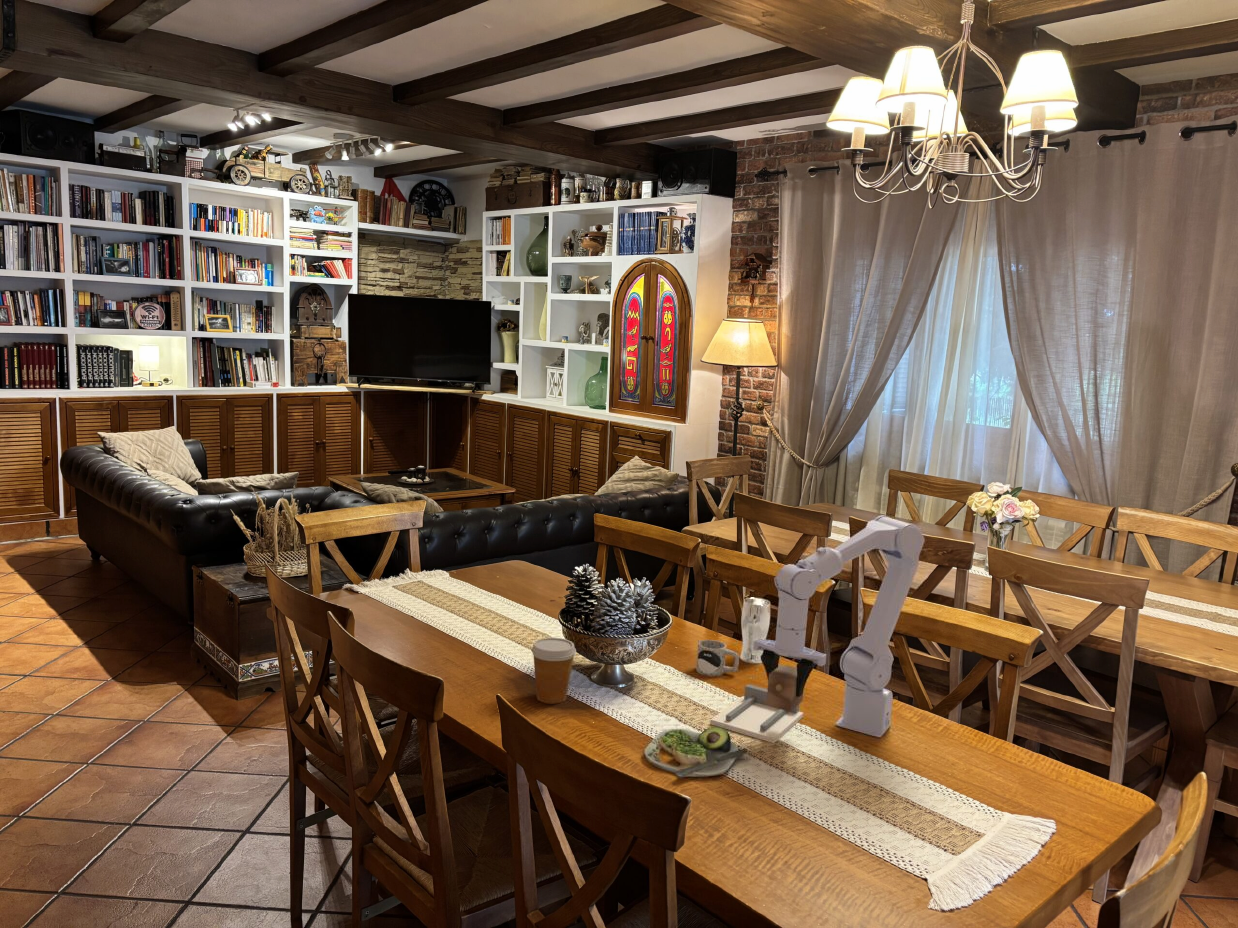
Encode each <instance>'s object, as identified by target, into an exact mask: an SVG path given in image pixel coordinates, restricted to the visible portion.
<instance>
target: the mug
mask: <svg viewBox="0 0 1238 928" xmlns="http://www.w3.org/2000/svg"><path fill="white" fill-rule="evenodd" d="M696 653H697V654H696V664H695V665H696V666H695V667H696V670H695V671H696V673H698V674H699V675H702V676H707V677H720V676H723V675H724V674H725V672H726V673H727V672H729V673H730V672H731V673H732V672H734V673H735V672H737V671H738V670H739V669H738V668H739V664H740V663H739V661H740V656H739V653H737V652H736V651H733V650H731V649H727V644H726V643H724V642H723V641H719V640H715V639H714V640H713V639H702V640H700V641H698V643H697V652H696ZM726 655H727V656H732V657H733V659H734V663H733V666H727V665H725V663H726Z"/></svg>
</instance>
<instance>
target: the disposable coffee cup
mask: <svg viewBox="0 0 1238 928" xmlns="http://www.w3.org/2000/svg"><path fill="white" fill-rule="evenodd" d="M531 653H532V656H533V667H534V680H535V690H536V691H535V692H536V699H537V701H539V702H542V703H544V704H550V705H551V704H560V703H563V702H564V701H566V699H567V694H568V688H569V683H570V679H571V673H572V667H573V661H574V657H575V654H576V653H577V649H576V648H575V643H574V642H573V641H571V640H568V639H565V638H561V637H559V638H558V637H544V638H543V637H542V638H540V639H537V640H535V641H534V643H533V645H532V647H531Z"/></svg>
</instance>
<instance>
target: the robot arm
mask: <svg viewBox="0 0 1238 928" xmlns="http://www.w3.org/2000/svg"><path fill="white" fill-rule="evenodd" d="M924 543H925V537H924V535H923V533H922V530H921V529H920V527H919V526H918V525H916V524H914V523H909V522H905V521H901V520H899V519H894V518H892V517H890V516H888V515H883V514H882V515H879V516H876V517H875V518H874V519H872V520H869V521H867V523H866V525H865V527H864V528H863V529H861V530H860V531H858V532H857V533H855V534H854V535H852V536H851V537H849V538H848V539H847V540H845V541H844V542H842V543H840V544H839V545H838V546H836V547H835V548H831V547H828V546H826V547H822V546H820V547H819V548H817V549H816V552H814V553H812V554H811V555H810V556H807V557H805V558H804V559H799V560H798V562H797V563H795V564H792V563H789V564H786V565H784V566H782V567H781V568H780V569H779V570H778V572H777V574H776V576H775V577H774V578H773V580H774V581H773V582H774V585H775V587H776V588H777V592H778V593H777V594H778V595H777V597H778V609H777V618H776V619H777V620H776V629H775V630H776V633H775V640H771V639H766V640H764V639H759V638H757V639H756V640H754V644H753V650H757V651H758V650H762V651H763V653H762V655H761V661H762V663H761V664H762V665H763V668H764V670H765V674H766V677H767V680H768V679H769V674H770V673H771V672H772V671H774V670H775V669H776V668H777V667H779V664H780V663H779V662H780V658H781V656H782V657H787V658H792V659H796V660H799V662H798V663H796V665H795V666H796V667H795V668H797V685H796V696H797V697H800V696H801V695H802V694H803V695H804V689H805V686H806V683H807V680H808V678H809V677H810V674H811V673H812V671H813V670H814V668H815V666H816V665H817V666H820V667H823V666H825V665H826V662H827V654H826V653H822V652H820V651H817V650H814V649H811V648H809V647H806V646H805V643H806V633H807V624H808V623H807V622H808V614H809V613H808V612H809V611H808V610H809V603H810V602H809V601H810V598H811V597H812V596H813V595H814V594H815V593H816V590H817V588H818V587H819V586H820V585H821V584H823V583H825V582H826V581H828V580H830V579H832V578H833V577H835V576H836V575H838V574H840V573H841V572H842V570H843V566H844V564H845V563H847V562H849V561H852V560H855V558H858V557H860V556H862V555H864V554H866V553H868V552H870V551H872V550H874V549H877V550H879V551H880V552H881V553H882V554H883V555H884V558H885V559H886V562H887V565H888V566H887V569H886V572H885V574H884V577H883V580H882V583H880V584H881V585H880V587H879V590H878V593H877V595H876V597H875V601H874V603H873V606H872V608H871V611H870V614H869V616H868V619H867V620H866V624H865V626H864V629H863V631H862V634H861V635H859V636H857V637H854V638H852V639H851V640H850V643H849V645H848V647H847V648H846V649H845V651H843V653H842V654H841V656H840V661H839V667H840V670H841V672H842V673H843V674H844V677H843V678H844V680H845V689H844V698H843V709H842V716H840V718H839V719H838V720H837V721H836V722H835V726H837V727H839V728H844V729H847V730H851V731H853V732H854V731H855V732H859V733H862V734H864V735H865V734H866V735H869V736H873V737H876V738H882V736H883V735H884V734H885V733H886V731H887V730H888V729H889V728H890V727H891V719H892V718H891V716H892V708H893V707H892V706H893V692H892V691H891V690H889V689H887V688H885V687H886V686H887V685H888V684H889V682H890V680H891V677H892V665H893V662H894V660H895V659H894V656H893V653H892V652H891V649H890V646H889V643H890V640H891V638H892V635H893V633H894V631H895V628H896V625H897V623H898V620H899V617H900V614H901V611H902V610H903V607H904V604H905V601H906V599H907V596H908V594H909V591H910V588H911V585H912V583H913V581H914V578H915V575H916V572H917V570H918V566H919V559H920V558H919V557H920V554H921V551H922V550H923V546H924Z"/></svg>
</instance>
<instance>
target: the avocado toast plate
mask: <svg viewBox="0 0 1238 928" xmlns="http://www.w3.org/2000/svg"><path fill="white" fill-rule="evenodd" d="M661 749H663V750H664V751H665V752H667V753H669V754H671V755H672V756H673V757H674V760H675V761H674V762H675V764H671V763H666V762H663V761H662V760H661V759H660V757H659V753H660V751H661ZM643 751H644V752H643V753H644V757H645V758H646V759H647V761H648V762H649V763H651V764H652V765H653V766H654V767H656V768H657V769H660V770H662V771H664V772H667V773H671V774H674V775H675V776H676V777H678V778H685V777H687V778H700V777H701V778H702V777H714V776H715V777H716V776H720V775H723V774H724V773H726V772H727V771H728V770H729V769H730V768H731V766H732V765H733V763H734V762H736V760H738V759H739V758H741V757H742V756H744V755H745V754H747V753H749V751H748V748H739V747H738V746H737V744H736V743H735V742H733V741H731V736H730V734H729V732H728V731H727V729H725V728H721V727H718V726H710V727H708V728H705V729H704V731H703V732H696V731H693V730H690V729H689V730H688V729H685V728H670V729H665V730H662V731H661V732H659V733H657V734H656V735H655V737H654V738H653V739H652V740H651V741H650V743H648V744H647V746H646V747H645V749H644V750H643Z"/></svg>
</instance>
